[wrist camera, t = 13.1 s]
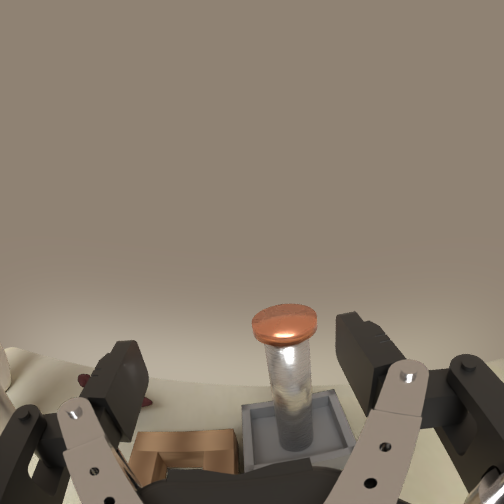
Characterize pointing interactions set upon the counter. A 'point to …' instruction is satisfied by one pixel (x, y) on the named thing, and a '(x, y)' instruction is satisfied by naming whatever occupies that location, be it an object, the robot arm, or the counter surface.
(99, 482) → the robot arm
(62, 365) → the counter surface
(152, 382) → the counter surface
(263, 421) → the tray
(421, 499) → the counter surface
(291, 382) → the pin
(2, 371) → the soap bottle
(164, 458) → the hitch block
